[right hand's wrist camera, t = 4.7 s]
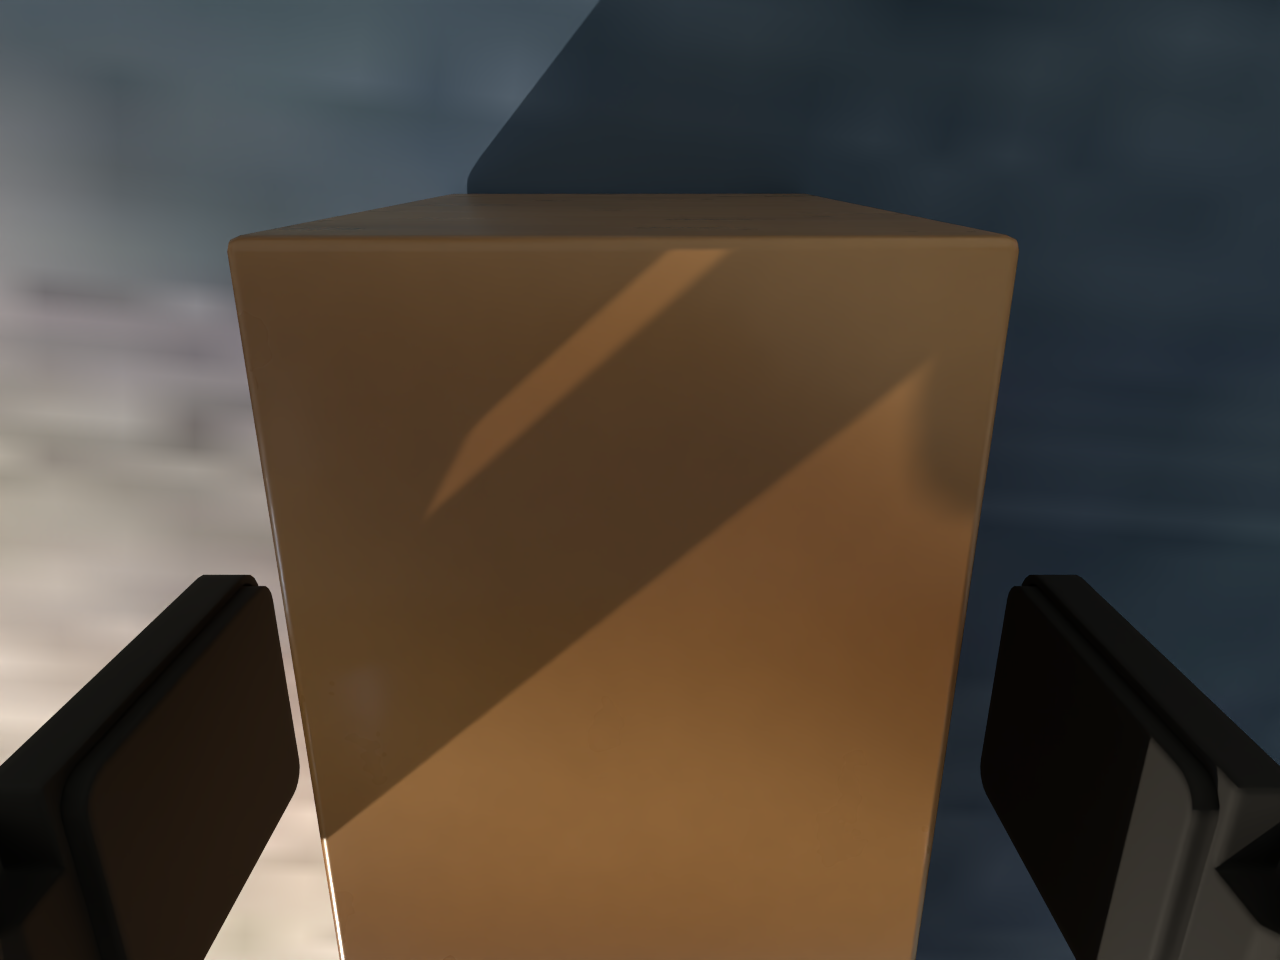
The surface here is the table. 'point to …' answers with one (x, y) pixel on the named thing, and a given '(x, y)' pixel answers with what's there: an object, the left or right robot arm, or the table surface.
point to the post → (625, 562)
